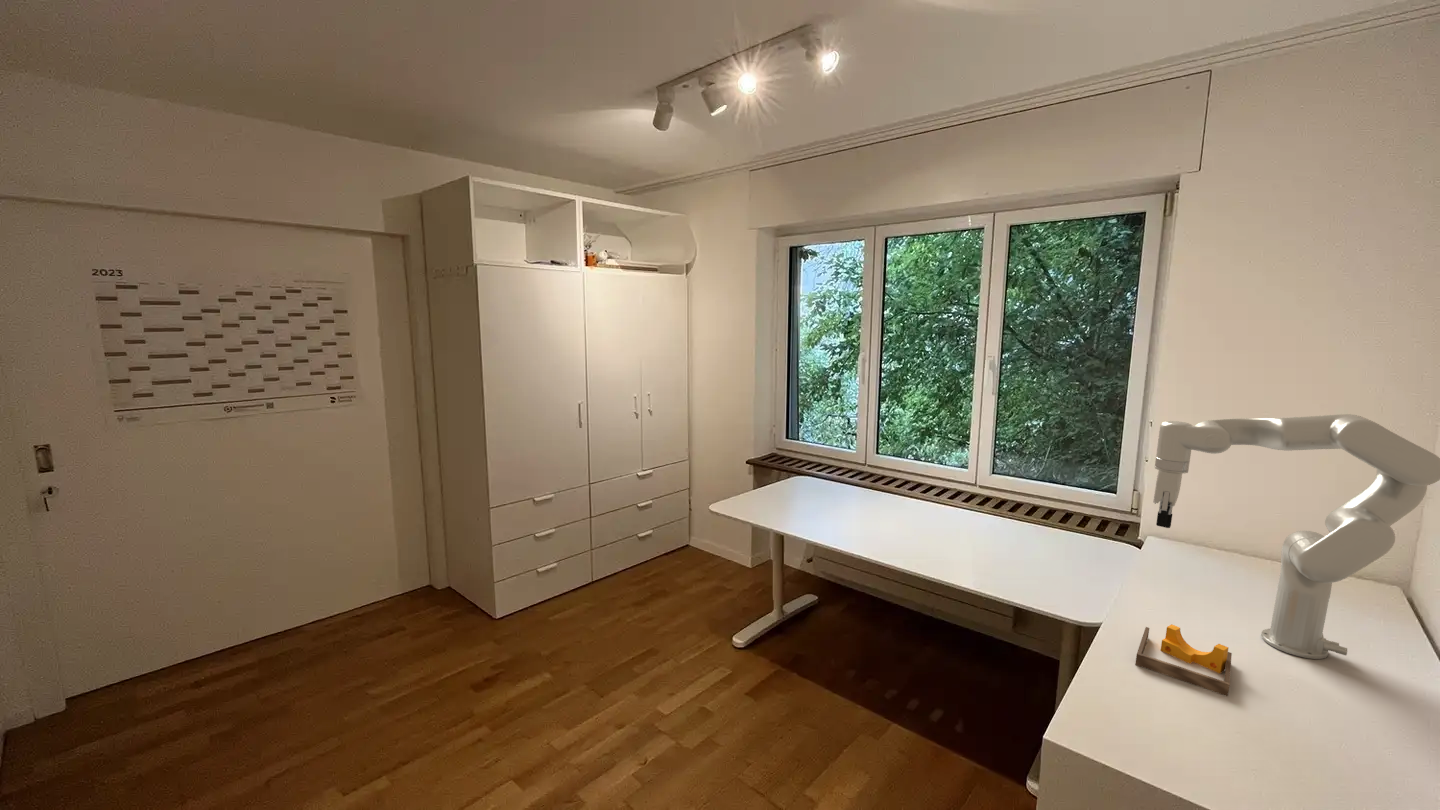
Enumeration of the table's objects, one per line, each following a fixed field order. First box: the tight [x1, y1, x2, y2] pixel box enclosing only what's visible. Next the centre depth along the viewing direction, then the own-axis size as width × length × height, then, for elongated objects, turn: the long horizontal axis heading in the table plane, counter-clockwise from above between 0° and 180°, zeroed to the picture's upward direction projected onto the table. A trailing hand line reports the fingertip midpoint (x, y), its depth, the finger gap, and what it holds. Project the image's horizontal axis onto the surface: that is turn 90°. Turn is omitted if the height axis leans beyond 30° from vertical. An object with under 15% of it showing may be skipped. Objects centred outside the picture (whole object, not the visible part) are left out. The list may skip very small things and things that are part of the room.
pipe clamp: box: [1160, 624, 1229, 674], centre depth 145 cm, size 12×4×6 cm, turn 29°
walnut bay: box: [1134, 626, 1233, 697], centre depth 143 cm, size 18×17×3 cm
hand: (1163, 526), depth 163 cm, fingers closed
